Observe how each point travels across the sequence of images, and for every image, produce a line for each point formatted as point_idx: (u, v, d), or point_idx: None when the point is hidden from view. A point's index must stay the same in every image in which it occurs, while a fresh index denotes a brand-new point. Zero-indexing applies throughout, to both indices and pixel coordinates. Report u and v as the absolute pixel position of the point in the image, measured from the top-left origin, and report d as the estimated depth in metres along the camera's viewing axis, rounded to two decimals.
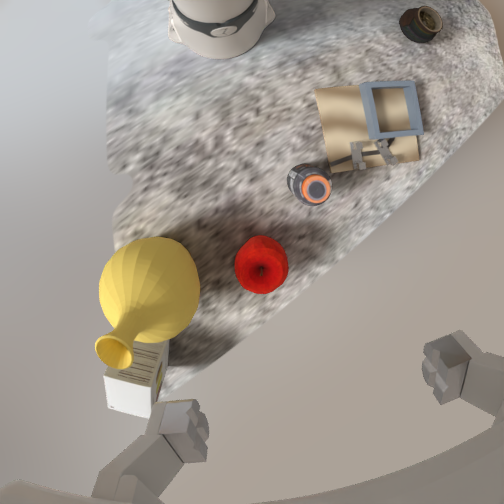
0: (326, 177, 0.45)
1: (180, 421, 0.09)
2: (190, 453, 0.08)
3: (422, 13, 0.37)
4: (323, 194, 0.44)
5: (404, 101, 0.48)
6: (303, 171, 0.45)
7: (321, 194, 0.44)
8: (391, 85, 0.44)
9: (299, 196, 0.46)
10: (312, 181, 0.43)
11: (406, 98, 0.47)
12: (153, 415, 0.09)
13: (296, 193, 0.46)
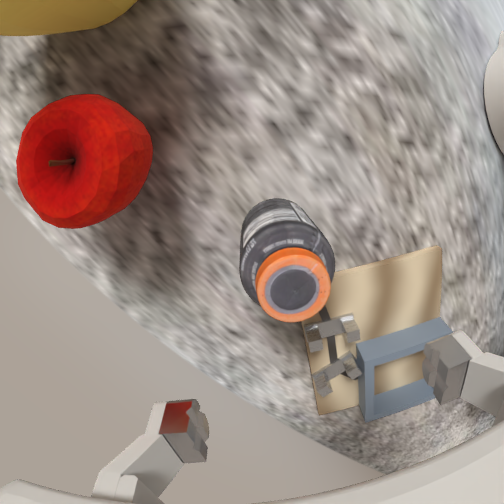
0: None
1: (180, 421, 0.09)
2: (190, 453, 0.08)
3: None
4: (283, 307, 0.17)
5: (407, 382, 0.32)
6: (327, 245, 0.18)
7: (280, 303, 0.17)
8: None
9: (264, 240, 0.18)
10: (316, 277, 0.16)
11: (412, 385, 0.32)
12: (153, 415, 0.09)
13: (273, 231, 0.18)
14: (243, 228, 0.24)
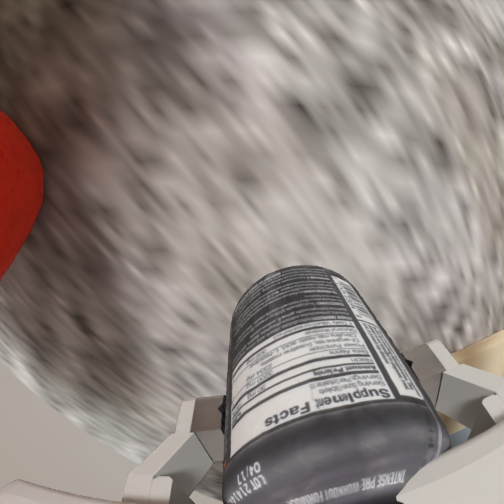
0: None
1: (212, 418, 0.08)
2: (221, 451, 0.08)
3: None
4: None
5: None
6: None
7: None
8: None
9: (294, 483, 0.05)
10: None
11: None
12: (183, 413, 0.09)
13: (322, 462, 0.05)
14: (233, 343, 0.10)
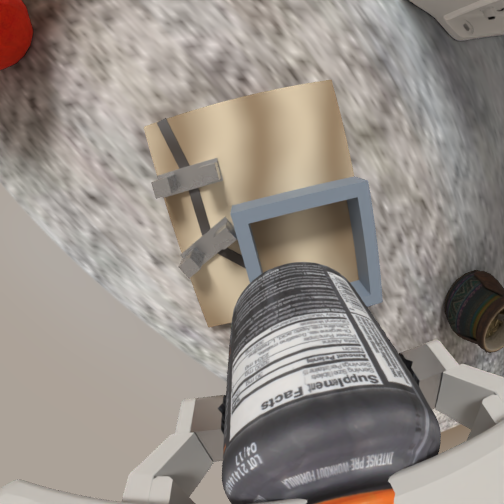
0: None
1: (212, 418, 0.08)
2: (221, 450, 0.08)
3: None
4: None
5: None
6: (437, 435, 0.06)
7: None
8: (367, 248, 0.23)
9: (287, 462, 0.05)
10: None
11: None
12: (183, 413, 0.09)
13: (313, 442, 0.05)
14: (233, 336, 0.11)
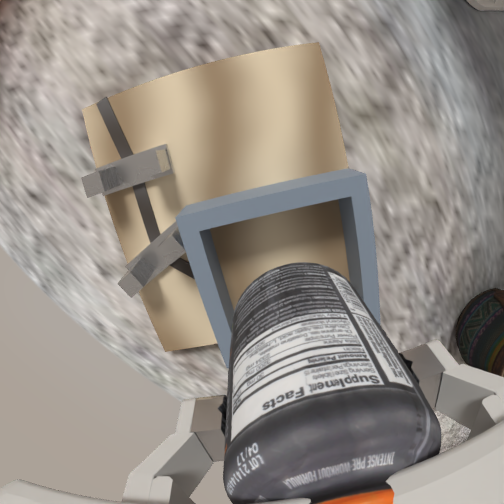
0: None
1: (212, 418, 0.08)
2: (221, 451, 0.08)
3: None
4: None
5: None
6: (438, 435, 0.06)
7: None
8: (363, 266, 0.17)
9: (289, 462, 0.05)
10: None
11: None
12: (183, 413, 0.09)
13: (314, 442, 0.05)
14: (234, 337, 0.11)
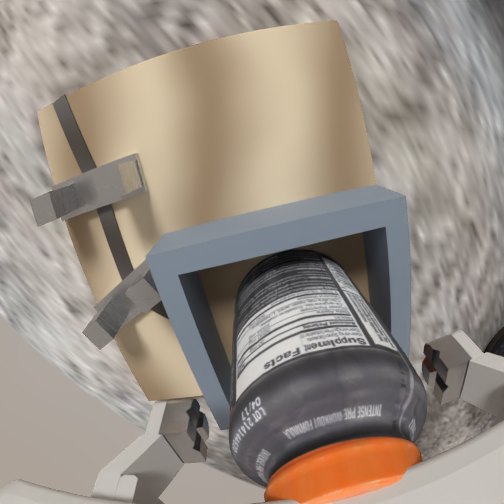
0: None
1: (180, 421, 0.09)
2: (190, 453, 0.08)
3: None
4: None
5: None
6: (423, 395, 0.07)
7: None
8: (394, 314, 0.12)
9: (288, 411, 0.06)
10: None
11: None
12: (153, 415, 0.09)
13: (309, 392, 0.06)
14: (237, 315, 0.12)
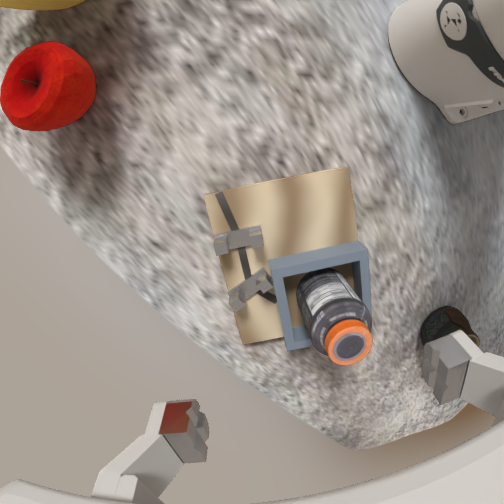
0: None
1: (180, 421, 0.09)
2: (190, 453, 0.08)
3: None
4: (343, 357, 0.25)
5: None
6: (369, 314, 0.26)
7: (342, 355, 0.24)
8: (363, 294, 0.32)
9: (330, 313, 0.26)
10: (365, 338, 0.24)
11: None
12: (153, 415, 0.09)
13: (336, 307, 0.26)
14: (303, 293, 0.32)
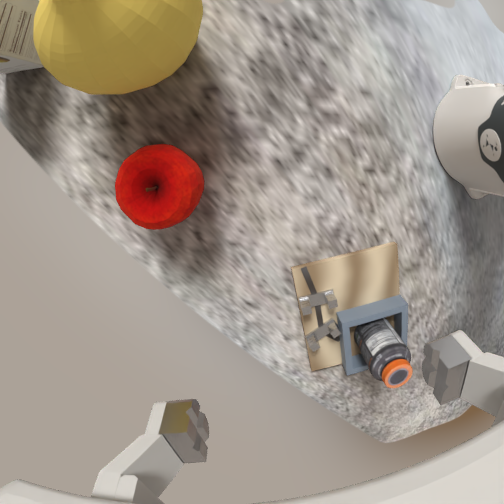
0: None
1: (180, 421, 0.09)
2: (190, 453, 0.08)
3: None
4: (393, 383, 0.34)
5: None
6: (409, 353, 0.36)
7: (393, 382, 0.34)
8: (402, 334, 0.42)
9: (386, 355, 0.36)
10: (408, 371, 0.34)
11: None
12: (153, 415, 0.09)
13: (389, 351, 0.36)
14: (361, 336, 0.41)
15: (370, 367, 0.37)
